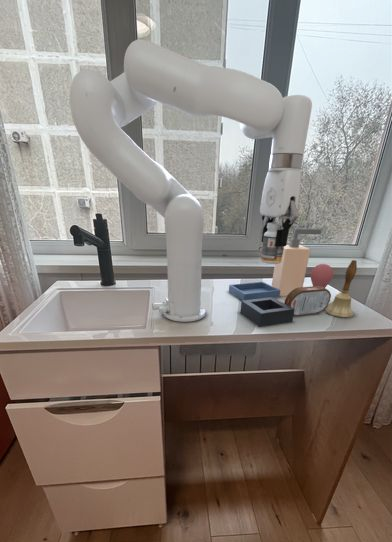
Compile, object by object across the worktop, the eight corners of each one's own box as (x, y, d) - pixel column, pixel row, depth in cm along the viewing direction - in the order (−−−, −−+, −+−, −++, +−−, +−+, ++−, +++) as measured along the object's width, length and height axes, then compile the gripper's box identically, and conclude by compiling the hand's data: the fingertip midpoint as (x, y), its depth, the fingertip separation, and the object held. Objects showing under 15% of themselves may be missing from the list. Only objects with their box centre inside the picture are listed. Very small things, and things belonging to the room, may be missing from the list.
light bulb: (309, 294, 105) (316, 260, 100) (329, 298, 102) (338, 263, 96) (303, 299, 100) (310, 264, 94) (324, 303, 97) (333, 267, 91)
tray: (243, 301, 97) (244, 294, 96) (228, 291, 106) (229, 284, 105) (279, 297, 102) (280, 290, 100) (261, 288, 111) (262, 281, 110)
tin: (321, 309, 91) (328, 284, 87) (328, 313, 89) (335, 286, 85) (281, 314, 87) (286, 287, 83) (287, 318, 84) (292, 291, 80)
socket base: (259, 327, 79) (261, 313, 77) (240, 312, 88) (241, 300, 86) (292, 322, 82) (294, 309, 80) (270, 308, 91) (272, 296, 89)
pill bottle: (280, 265, 76) (287, 225, 71) (258, 263, 78) (264, 223, 73) (281, 261, 81) (288, 223, 76) (261, 259, 82) (266, 221, 78)
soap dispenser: (278, 295, 103) (289, 230, 92) (270, 288, 110) (280, 227, 100) (312, 295, 104) (327, 230, 93) (302, 288, 111) (315, 227, 101)
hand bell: (330, 306, 95) (343, 256, 87) (357, 312, 90) (373, 260, 82) (320, 312, 89) (333, 260, 82) (348, 320, 84) (365, 265, 77)
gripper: (253, 165, 74) (245, 239, 83) (295, 161, 60) (280, 250, 69) (277, 167, 76) (267, 239, 85) (323, 163, 62) (305, 249, 71)
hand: (273, 243), depth 77 cm, fingers closed on pill bottle, 5 cm apart
